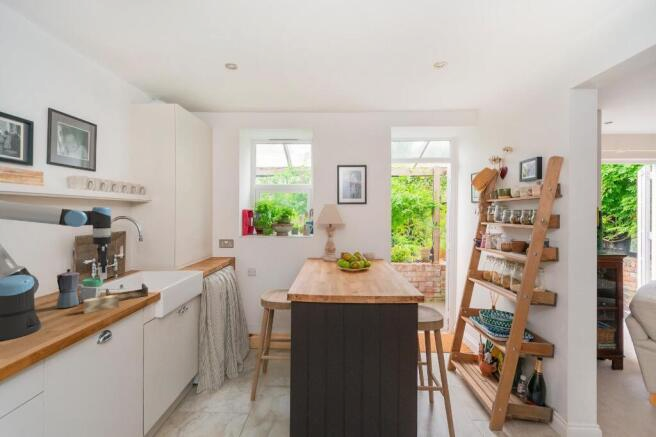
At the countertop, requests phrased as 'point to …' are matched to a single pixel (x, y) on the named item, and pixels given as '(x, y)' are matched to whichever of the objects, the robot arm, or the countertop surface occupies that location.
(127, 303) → the countertop surface
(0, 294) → the robot arm
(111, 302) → the tan rectangular block
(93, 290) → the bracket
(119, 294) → the cradle
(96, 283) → the green lidded container
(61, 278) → the moka pot
